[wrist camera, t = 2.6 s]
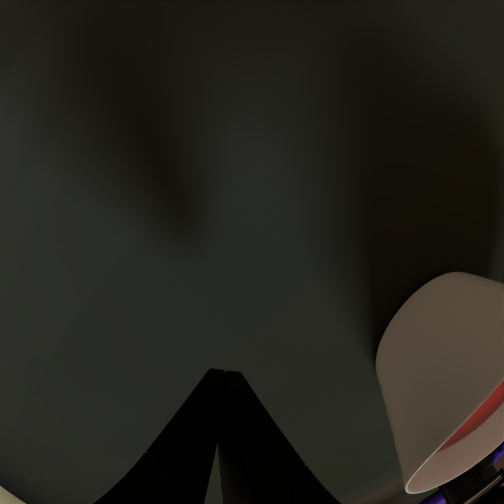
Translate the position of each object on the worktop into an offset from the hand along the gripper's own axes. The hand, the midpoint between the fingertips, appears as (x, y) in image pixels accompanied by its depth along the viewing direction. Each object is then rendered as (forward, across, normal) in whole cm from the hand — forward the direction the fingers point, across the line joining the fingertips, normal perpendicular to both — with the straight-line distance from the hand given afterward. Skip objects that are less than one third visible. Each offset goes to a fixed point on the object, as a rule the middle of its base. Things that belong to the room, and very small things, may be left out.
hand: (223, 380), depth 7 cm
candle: (+3, -10, 0) cm, 10 cm away
